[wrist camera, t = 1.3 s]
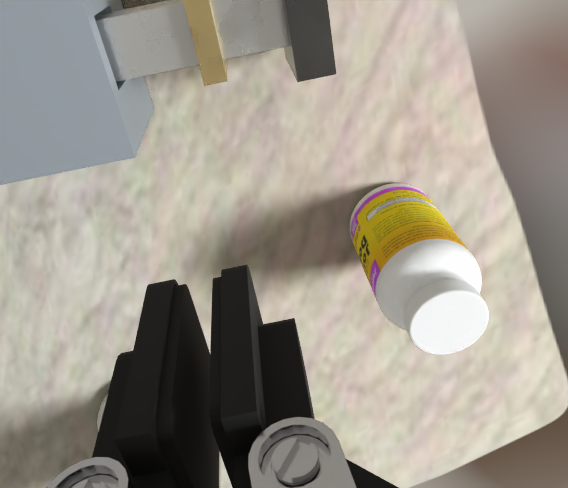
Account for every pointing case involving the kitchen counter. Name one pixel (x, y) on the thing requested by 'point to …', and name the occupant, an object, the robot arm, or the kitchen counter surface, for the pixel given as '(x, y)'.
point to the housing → (63, 91)
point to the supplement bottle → (419, 269)
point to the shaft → (216, 36)
